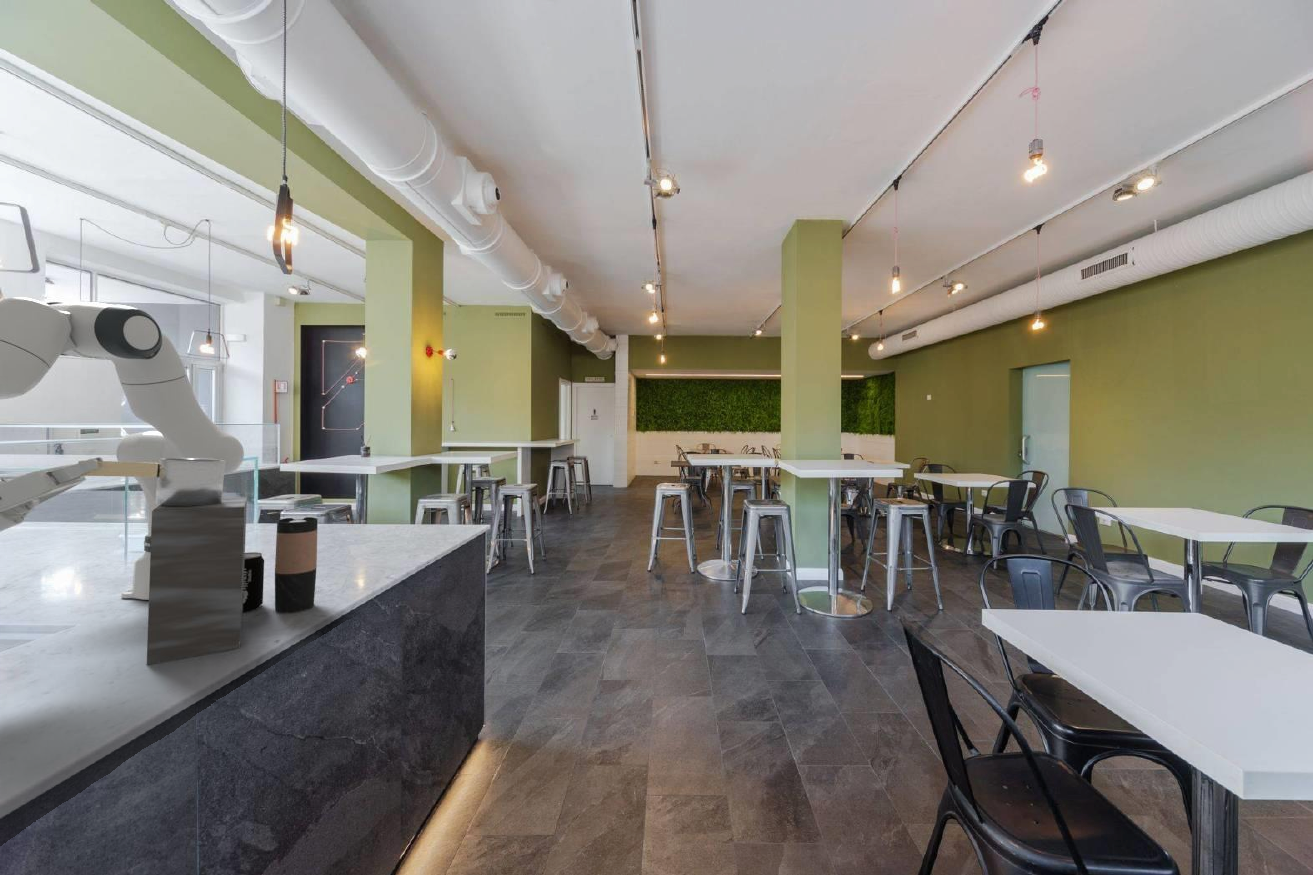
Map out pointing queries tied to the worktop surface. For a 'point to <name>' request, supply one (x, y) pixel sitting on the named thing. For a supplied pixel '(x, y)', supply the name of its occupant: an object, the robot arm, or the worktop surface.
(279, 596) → the travel mug
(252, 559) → the beverage can
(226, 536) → the stand
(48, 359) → the robot arm
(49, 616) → the worktop surface
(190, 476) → the milk pan
